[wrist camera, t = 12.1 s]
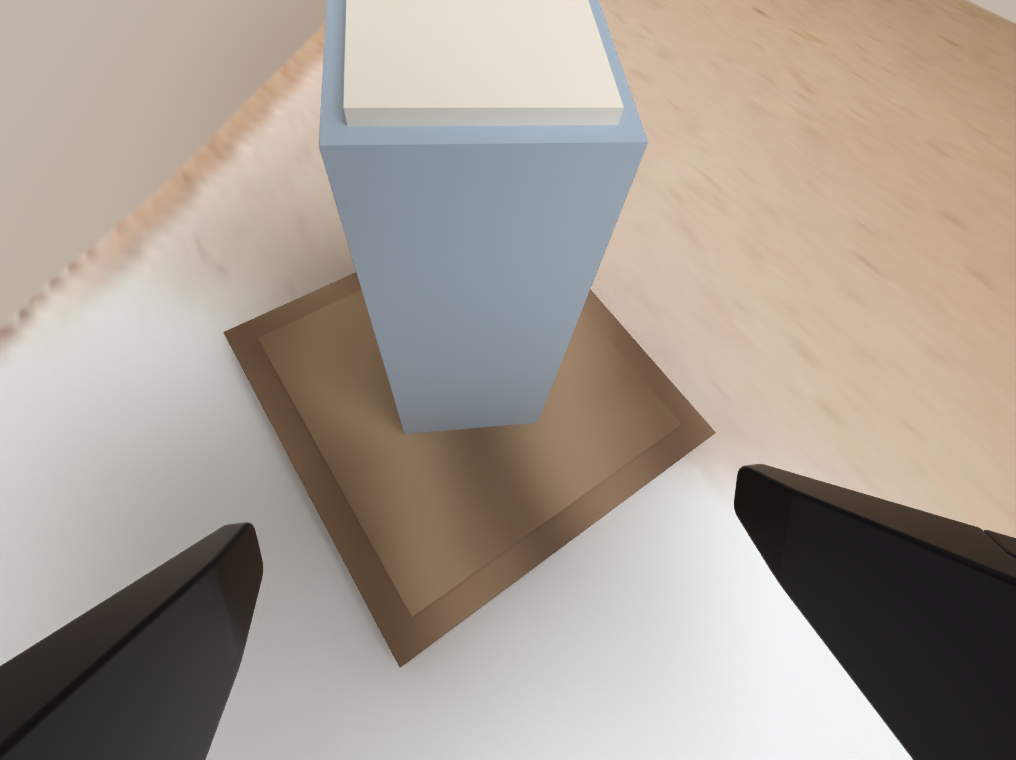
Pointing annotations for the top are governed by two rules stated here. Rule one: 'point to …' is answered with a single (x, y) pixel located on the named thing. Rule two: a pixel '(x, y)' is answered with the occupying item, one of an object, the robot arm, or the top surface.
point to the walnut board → (455, 458)
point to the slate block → (475, 189)
